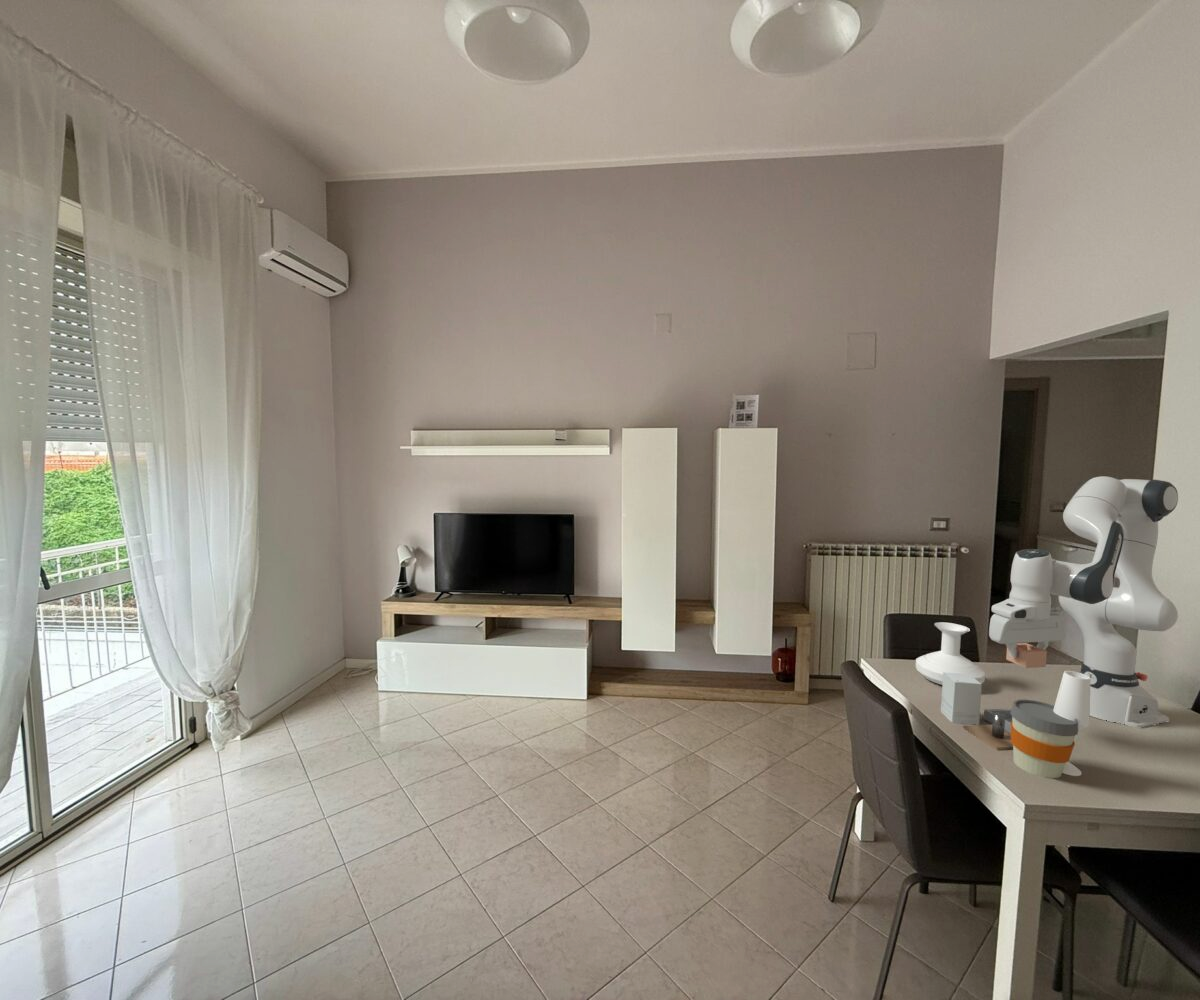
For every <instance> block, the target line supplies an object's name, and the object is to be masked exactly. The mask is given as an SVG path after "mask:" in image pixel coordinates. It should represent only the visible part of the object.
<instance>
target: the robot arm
mask: <svg viewBox="0 0 1200 1000" xmlns="http://www.w3.org/2000/svg"><path fill="white" fill-rule="evenodd" d="M1178 501H1179V493H1178V490H1177V488H1176V487H1175V485H1174V484H1172V483H1171V482H1169V481H1166V480H1161V479H1160V480H1159V479H1151V480H1150V479H1140V478H1139V479H1136V478H1135V479H1134V478H1123V479H1118V478H1116V477H1115V478H1114V477H1112V476H1107V475H1106V476H1104V475H1103V476H1102V475H1101V476H1096V477H1092V478H1091V479H1089V480H1087V481H1086V482H1084V483H1082V484H1080V486H1079V487H1077V489H1076V491H1075V493H1074V495H1073V496H1072V497H1071V499H1069V502H1068V503H1067V505H1066V507H1065V509H1064V510H1063V513H1062V518H1063V519H1062V520H1063V522H1064V524H1065V526H1066V527H1067V529H1069V530H1070V531H1071V532H1072V533H1074V534H1075V535H1077V536H1079V537H1080V538H1082V539H1083V538H1084V539H1086V540H1089V541H1090V542H1093V543H1095V544H1097V545H1096V548H1095V551H1094V554H1093V557H1092V560H1091V562H1089V563H1083V564H1082V563H1075V562H1068V561H1062V560H1057V559H1054V558H1052V555H1051V553H1050V552H1049V551H1047V550H1043V549H1040V548H1038V549H1037V548H1025V549H1021V550H1018V551H1016V552H1015V554H1014V556H1013V560H1012V564H1011V569H1010V583H1011V590H1010V591H1009V595H1008V596H1009V597H1008V598H1006V599H1005V600H1003V601H1000V602H998V603H994V604H993V605H992V606H991V612H992V613H993V614H992V615H991V617H990V620H989V621H990V622H989V630H988V636H989V638H990V640H991V641H993V642H994V643H995V642H996V643H998V644H1000V645H1005V647H1006V649H1007V648H1008V650H1009V656H1010V657H1012V658H1019V652H1018V651H1016V649H1015V647H1016V646H1017V643H1028V644H1030V643H1038V644H1037V645H1036V647H1038V648H1040V649H1043V650H1045V651H1046V649H1047V648H1048V647H1049V644H1050V642H1063V641H1064V640H1065V638H1066V636H1067V635H1066V633H1067V630H1066V621H1065V617H1064V615H1065V614H1064V611H1065V612H1066V613H1067V614H1068V615H1069V616H1070V617H1072V619H1074V621H1075V622H1076V623H1077V625H1078V627H1079V629H1080V631H1081V634H1082V636H1083V637H1082V638H1083V647H1084V648H1083V661H1082V662H1081V664H1080V667H1079V668H1080V672H1079V673H1082V674H1085V675H1087V676H1089V677H1090V717H1093V718H1096V719H1100V720H1103V721H1106V720H1107V722H1111V723H1114V722H1116V723H1115V724H1120V723H1121V724H1120V725H1124V724H1125V725H1124V726H1127V725H1128V726H1127V727H1131V726H1133V727H1132V728H1134V727H1137V728H1136V729H1140V728H1139V727H1144V726H1149V725H1153V726H1155V725H1154V724H1158V723H1162V722H1166V721H1170V718H1169V717H1168V716H1167V715H1166V714H1163V713H1161V712H1160V711H1159V702H1158V700H1157V698H1156V697H1155V696H1153V695H1152V694H1151V693H1150V692H1149V691H1147V690H1146V689H1145V688H1144V687H1142V686H1141V685H1140V682H1139V680H1141V681H1142V682H1146V681H1147V680H1148V675H1147V674H1145V673H1141V672H1136V671H1135V670H1136V661H1137V660H1136V659H1137V648H1136V647H1135V645H1134V644H1133V643H1132V642H1131V641H1130V640H1129V639H1127V638H1125V636H1122V635H1121V634H1119V633H1118V631H1117V630H1116V629H1115V627H1114V626H1113V625H1116V626H1117V625H1118V626H1120V627H1125V628H1130V629H1136V630H1140V631H1149V632H1165V631H1168V630H1170V629H1171V628H1173V627H1174V625H1175V624H1176V623H1177V620H1178V609H1177V607H1176V606H1175V604H1174V603H1173V602H1172V601H1171V600H1170V599H1169V598H1168V597H1166V596H1165V595H1164V594H1163V593H1162V592H1161V591H1160V590H1159V589H1158V587H1157V585H1156V584H1155V581H1154V579H1153V574H1152V573H1153V564H1154V559H1155V554H1156V548H1157V546H1158V539H1159V521H1160V522H1161V520H1162V519H1164V517H1167V516H1168V515H1170V514H1171V513H1172V512H1173V511H1174V510H1175V509H1176V507H1177V506H1178ZM1115 578H1117V579H1119V586H1118V587H1114V582H1115ZM1051 595H1054V596H1058V602H1059V605H1060V607H1061V608H1062V609H1063V610H1062V609H1061V608H1060V607H1058V606H1053V607H1052V597H1051ZM1158 725H1159V724H1158ZM1149 727H1150V726H1149ZM1144 728H1145V727H1144Z"/></svg>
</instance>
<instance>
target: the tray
mask: <svg viewBox="0 0 1200 1000" xmlns="http://www.w3.org/2000/svg"><path fill="white" fill-rule="evenodd" d="M1011 709H1012V708H994V709H991V708H989V709H984V711H983V719H984V720H985V721H987V722H989V723H990V724H991V725H992V724H993V713H994V712H998V713H1002V714H1004V715H1005V729H1004V730H1006V731H1008V732H1009V733H1011V722H1012V715H1011Z"/></svg>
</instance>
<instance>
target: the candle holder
mask: <svg viewBox="0 0 1200 1000" xmlns="http://www.w3.org/2000/svg"><path fill="white" fill-rule="evenodd" d="M933 624H934V626H935V627H936V628H937V629H938V630H939V631H940V632H941V643H940V644H941V645H940V650H938V651H937V650H936V651H933V652H930V653H926V654H923V655H921V656H918V657H917V658H915V669H916V670H917V671H918V672H919V673H920V674H921V675H923V677H924V678H926V679H927V680H928V681H931V682H933V683H935V684H938V685H941V686H942V685H943V672H945V673H960V674H969V675H971V676H972V677H973V678H975V679H976V680H977V681H978V682H980V683H981V684H982V685H983V683H985V679H986V674H985V672H984V670H983V669H982V668H980V667H979V666H978V665H977V664H976V663H974V662H972V660H970V659H968V658H966V657H964V656H963V654H961V653H960V652H961V650H960V649H961V639H962V638H961V637H962V635H964V634H966V633H968V632H970V631H971V630H970V629H971V628H969V627H967V626H965V625H961V624H957V623H952V622H943V621H942V622H941V621H940V622H935V623H933Z"/></svg>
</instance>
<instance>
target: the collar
mask: <svg viewBox="0 0 1200 1000" xmlns="http://www.w3.org/2000/svg"><path fill="white" fill-rule="evenodd" d="M1015 649H1016V651H1018V652H1019V658H1012V657H1010V656H1009V650H1008V648H1007V647H1006V658H1005V660H1007V661H1009V662H1011V663H1013V664H1016V665H1018V666H1020V667H1021V668H1025V669H1031V668H1046V667H1047V654H1048V651H1047V650H1046V649H1045V650H1043V649H1040V648H1038V647H1037V646H1035V645H1033V644H1031V643H1017V646H1016V647H1015Z"/></svg>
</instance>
